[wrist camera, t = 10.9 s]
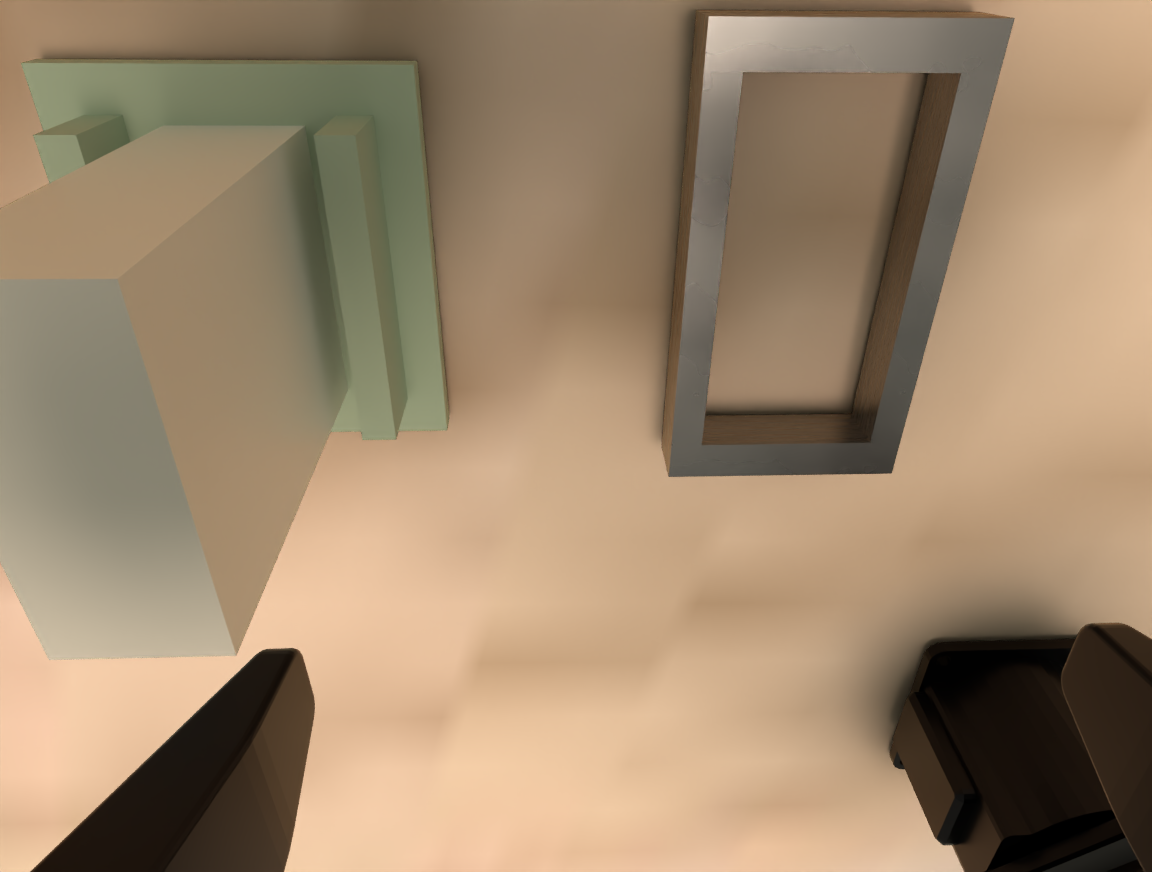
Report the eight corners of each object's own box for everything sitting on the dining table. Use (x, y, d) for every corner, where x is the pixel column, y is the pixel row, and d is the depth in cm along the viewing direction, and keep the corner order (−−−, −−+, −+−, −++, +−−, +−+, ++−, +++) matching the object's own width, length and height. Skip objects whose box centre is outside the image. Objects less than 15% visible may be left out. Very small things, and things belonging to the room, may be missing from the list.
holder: (417, 60, 17) (399, 80, 15) (449, 418, 22) (439, 473, 20) (36, 58, 17) (-40, 78, 15) (153, 422, 22) (110, 477, 19)
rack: (979, 11, 17) (1014, 18, 16) (872, 443, 23) (891, 473, 22) (696, 9, 17) (709, 16, 16) (661, 446, 23) (668, 476, 21)
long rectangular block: (305, 125, 17) (117, 279, 10) (348, 389, 21) (236, 656, 13) (163, 125, 17) (-141, 280, 9) (231, 390, 20) (48, 660, 13)
